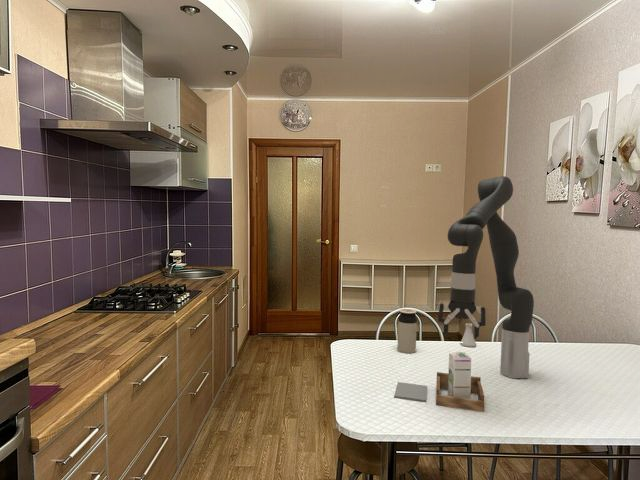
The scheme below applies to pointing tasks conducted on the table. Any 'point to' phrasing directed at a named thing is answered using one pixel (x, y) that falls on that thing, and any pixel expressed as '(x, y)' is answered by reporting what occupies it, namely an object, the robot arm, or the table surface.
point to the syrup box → (459, 375)
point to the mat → (411, 392)
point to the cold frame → (457, 401)
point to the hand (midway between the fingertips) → (460, 336)
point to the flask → (468, 337)
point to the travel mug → (407, 331)
